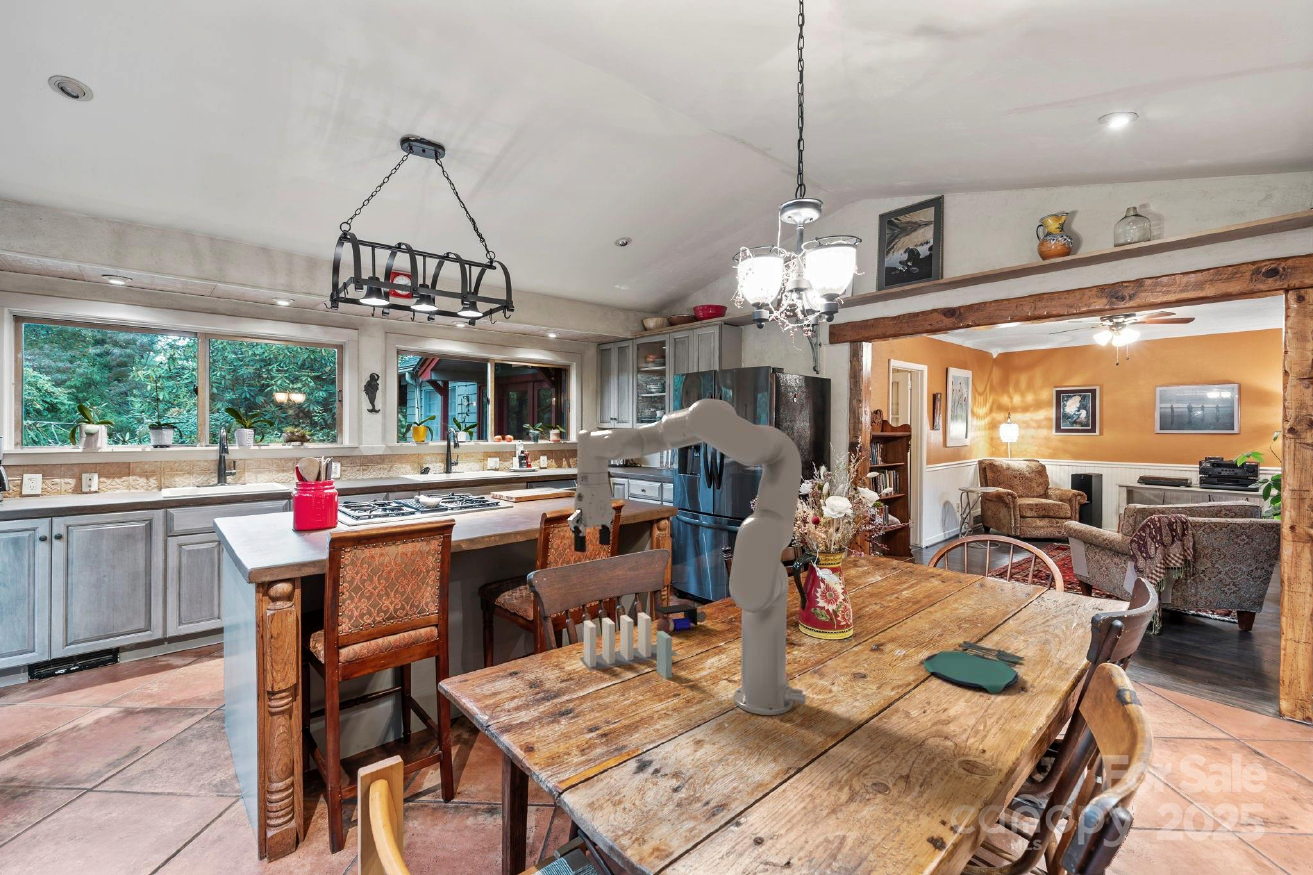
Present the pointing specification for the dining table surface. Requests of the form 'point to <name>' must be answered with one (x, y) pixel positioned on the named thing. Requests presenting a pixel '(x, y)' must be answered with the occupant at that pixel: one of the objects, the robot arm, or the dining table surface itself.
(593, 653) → the ivory tile
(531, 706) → the dining table surface
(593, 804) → the dining table surface
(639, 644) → the ivory tile
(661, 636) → the tile
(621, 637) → the ivory tile
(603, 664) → the mat
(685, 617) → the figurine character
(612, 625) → the ivory tile
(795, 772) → the dining table surface
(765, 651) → the robot arm
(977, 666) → the cutlery set
